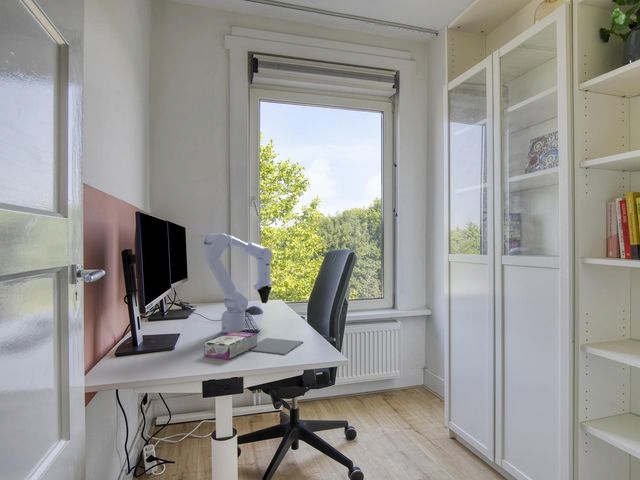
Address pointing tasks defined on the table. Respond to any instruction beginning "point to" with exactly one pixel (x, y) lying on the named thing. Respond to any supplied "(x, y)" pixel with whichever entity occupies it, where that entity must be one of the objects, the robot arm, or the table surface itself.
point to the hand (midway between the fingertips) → (264, 302)
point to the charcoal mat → (276, 346)
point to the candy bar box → (230, 344)
